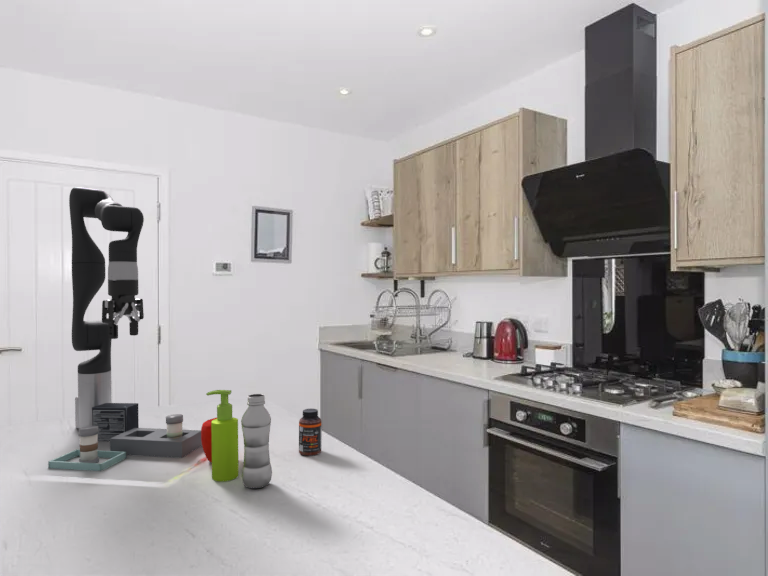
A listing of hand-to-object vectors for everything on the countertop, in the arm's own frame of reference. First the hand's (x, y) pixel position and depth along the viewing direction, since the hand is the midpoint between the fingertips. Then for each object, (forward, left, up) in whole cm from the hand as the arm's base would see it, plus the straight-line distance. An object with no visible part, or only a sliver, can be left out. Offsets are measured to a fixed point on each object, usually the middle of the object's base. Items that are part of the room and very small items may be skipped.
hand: (123, 336), depth 142 cm
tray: (+2, -16, -30) cm, 34 cm away
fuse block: (+13, -5, -30) cm, 33 cm away
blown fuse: (+2, -16, -30) cm, 34 cm away
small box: (-5, +3, -30) cm, 31 cm away
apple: (+32, -8, -30) cm, 45 cm away
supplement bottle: (+53, +1, -30) cm, 61 cm away
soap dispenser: (+38, -18, -30) cm, 52 cm away
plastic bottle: (+48, -22, -30) cm, 61 cm away
